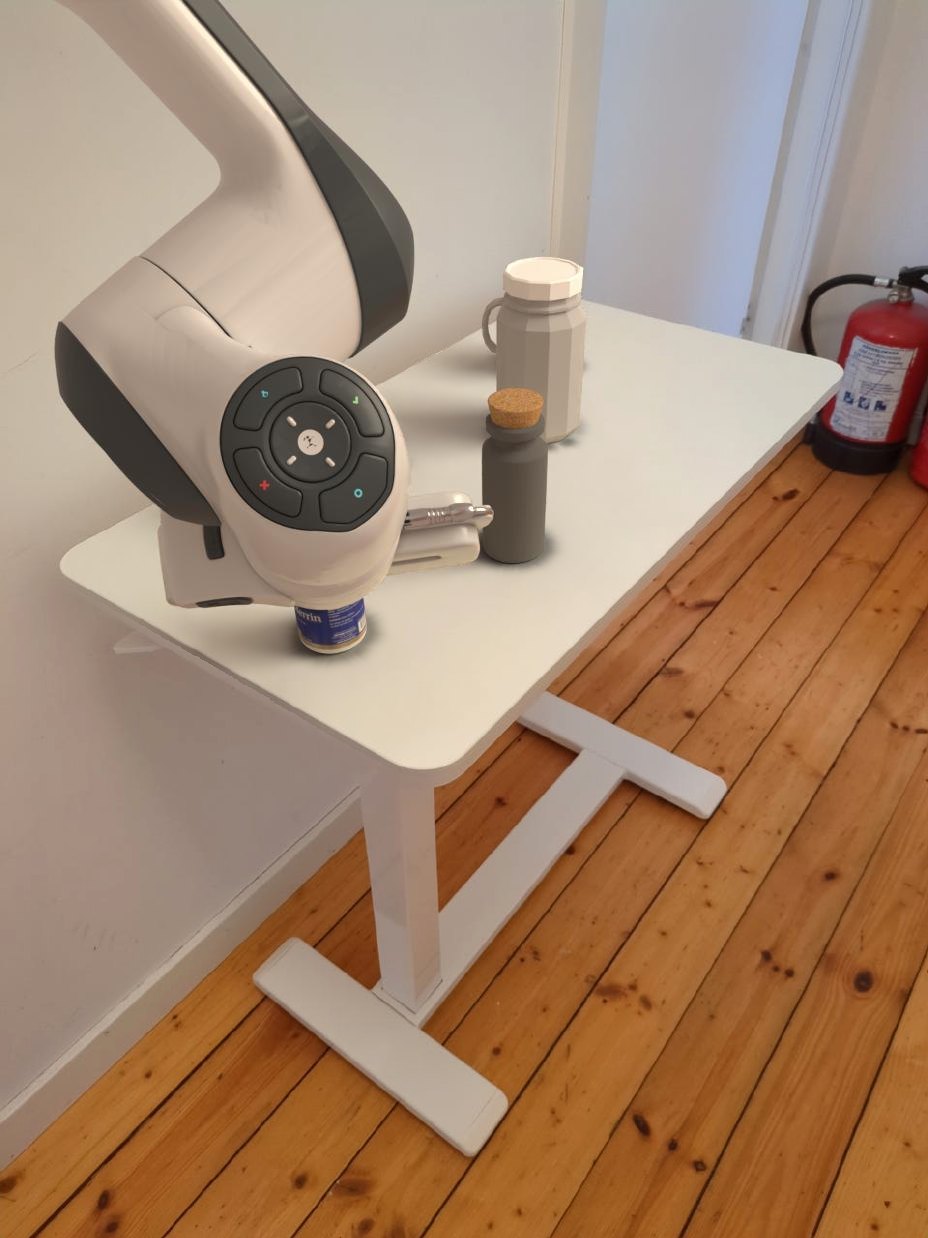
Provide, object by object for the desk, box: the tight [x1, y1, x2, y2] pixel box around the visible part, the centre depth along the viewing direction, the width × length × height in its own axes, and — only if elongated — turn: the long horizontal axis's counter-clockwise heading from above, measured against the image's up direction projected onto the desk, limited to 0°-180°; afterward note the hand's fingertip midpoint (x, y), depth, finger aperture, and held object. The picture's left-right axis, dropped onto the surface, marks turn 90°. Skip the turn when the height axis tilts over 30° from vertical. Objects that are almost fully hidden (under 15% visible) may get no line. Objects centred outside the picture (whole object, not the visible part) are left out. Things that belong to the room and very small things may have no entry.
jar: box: [495, 256, 588, 444], centre depth 98 cm, size 10×10×18 cm
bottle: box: [481, 388, 549, 564], centre depth 80 cm, size 6×6×15 cm
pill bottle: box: [293, 597, 368, 654], centre depth 72 cm, size 6×6×10 cm
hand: (326, 571), depth 64 cm, fingers open, 8 cm apart
